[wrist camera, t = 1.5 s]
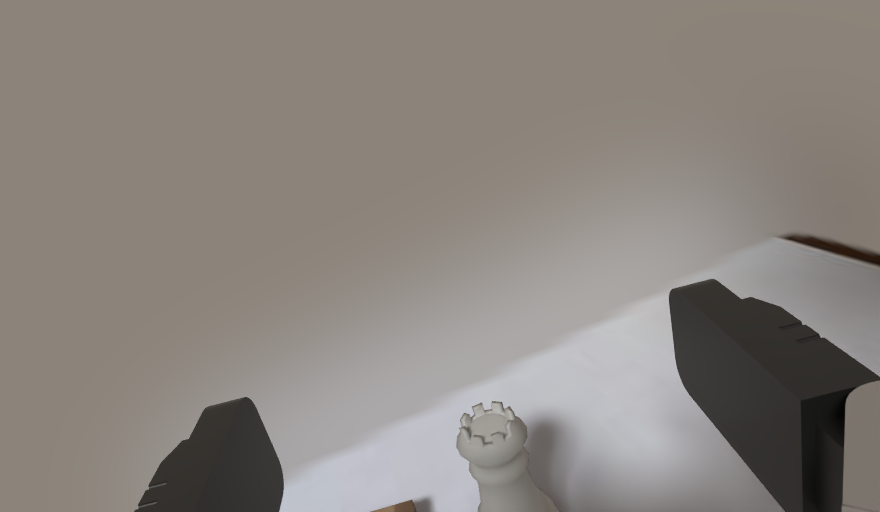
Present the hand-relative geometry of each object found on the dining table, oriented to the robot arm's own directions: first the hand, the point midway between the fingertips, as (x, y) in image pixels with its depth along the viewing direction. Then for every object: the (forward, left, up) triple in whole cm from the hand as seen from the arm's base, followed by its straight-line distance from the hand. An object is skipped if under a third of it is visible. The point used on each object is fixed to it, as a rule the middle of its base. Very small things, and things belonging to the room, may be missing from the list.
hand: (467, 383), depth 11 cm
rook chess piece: (0, -12, -19) cm, 22 cm away
